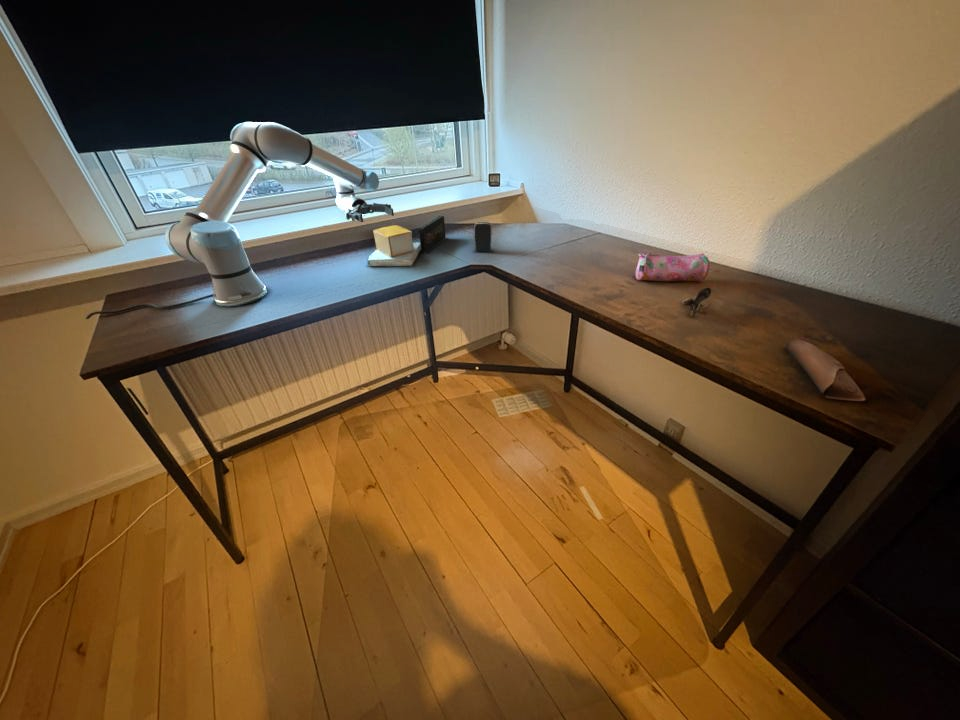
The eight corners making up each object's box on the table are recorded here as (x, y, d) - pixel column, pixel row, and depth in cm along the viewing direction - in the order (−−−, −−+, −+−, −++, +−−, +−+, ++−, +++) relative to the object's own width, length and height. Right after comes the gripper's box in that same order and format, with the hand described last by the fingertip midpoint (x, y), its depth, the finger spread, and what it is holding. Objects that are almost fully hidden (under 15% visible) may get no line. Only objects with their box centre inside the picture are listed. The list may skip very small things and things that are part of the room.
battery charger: (492, 249, 157) (492, 221, 151) (491, 252, 154) (491, 223, 148) (476, 249, 158) (474, 221, 152) (474, 252, 155) (473, 223, 149)
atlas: (368, 266, 146) (367, 259, 144) (382, 249, 162) (381, 242, 161) (411, 265, 145) (410, 259, 143) (421, 248, 161) (420, 242, 160)
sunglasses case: (871, 401, 74) (867, 376, 71) (826, 411, 77) (821, 387, 75) (824, 351, 88) (819, 329, 86) (788, 361, 92) (782, 340, 89)
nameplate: (442, 238, 172) (440, 215, 167) (445, 238, 172) (443, 215, 166) (421, 253, 156) (418, 228, 151) (425, 253, 156) (422, 228, 150)
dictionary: (376, 249, 154) (372, 229, 149) (398, 244, 159) (395, 224, 154) (391, 257, 145) (387, 236, 141) (414, 251, 150) (411, 231, 146)
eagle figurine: (715, 316, 102) (716, 297, 108) (706, 296, 100) (707, 278, 105) (685, 324, 108) (687, 305, 113) (675, 305, 105) (678, 287, 110)
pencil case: (636, 284, 124) (641, 257, 119) (631, 274, 131) (636, 248, 126) (705, 286, 121) (714, 259, 116) (697, 275, 128) (705, 249, 123)
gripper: (326, 202, 158) (345, 211, 144) (380, 193, 171) (403, 200, 157) (331, 220, 163) (350, 231, 149) (383, 210, 175) (405, 218, 161)
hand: (377, 215), depth 153 cm, fingers open, 13 cm apart
